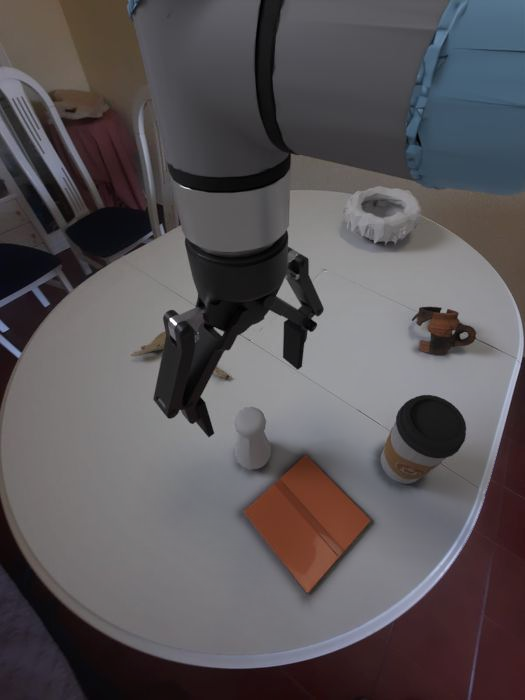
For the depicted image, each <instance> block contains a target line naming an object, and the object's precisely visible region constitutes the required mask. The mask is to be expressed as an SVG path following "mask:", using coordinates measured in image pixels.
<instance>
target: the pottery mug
mask: <svg viewBox="0 0 525 700" xmlns="http://www.w3.org/2000/svg"><path fill="white" fill-rule="evenodd" d="M442 310H443V308H442V307H439V306H421V307H419V308H418V312H417V313H416V314H415V315H413V317H412V319H411V321H412V322H414V321H415V320H416V325H417V326H419V327H421V326H422V325H423V323H426V322H427V321H429V323H428V324H427V326H426V328H427V331H428V332H429V333H430V340H423V339H420V340H419V341H418V350H419V351H421V352H424V353H429V354H434V355H446V354H448V353H449V351H450V350H451V348H452V349H454V348H457V347H466V346H469V345H471V344H473V343H474V342H475V340H477V337H476V335H477V331H476V330H475V328H474V327H473V326H471V325H467V324H463V323H462V322H461V321H460V319H459V318H458V317H459V315H460V313H459V312H458V311H456V310H454V309H451V308H447V309H446V312H441V311H442ZM463 333H466V334H467V337H465V338H461V334H463Z"/></svg>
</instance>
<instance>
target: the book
mask: <svg viewBox="0 0 525 700" xmlns="http://www.w3.org/2000/svg"><path fill="white" fill-rule="evenodd" d="M243 514H245V516H246V517H247V519H248V520H249V521H250V522H251V524H252V525H253V526H254V527H255V529H256V530H257V531H258V533H259V534H260V535H261V536H262V538H263V539H264V540H265V542H266V543H267V544H268V545H269V547H270V548H271V550H272V551H273V552H274V553H275V554H276V556H277V557H278V558H279V559H280V561H281V563H283V565H284V566H285V567H286V568H287V570H288V571H289V572H290V573H291V575H292V576H293V577H294V579H295V580H296V581H297V583H298V584H299V585H300V586H301V588H302V589H303V590H304V591H305V593H306V594H309V593H310V592H311V591H312V589H313V588H314V587H315V586H316V585H317V584H318V582H319V581H321V579H322V578H323V577H324V576H325V574H326V573H327V572H329V570H330V569H331V567H333V565H334V564H335V563H336V561H337V560H339V558H341V556H342V555H343V554H344V552H345V551H346V550H347V549H348V548H349V547H350V546H351V545H352V543H354V541H355V540H356V538H357V537H358V536H360V534H361V533H362V531H364V529H365V528H366V527H367V526H368V525H369V523H370V522H371V520H372V519H370V518H369V517H368V516H367V514H365V512H364V511H362V509H361V508H360V507H358V506H357V504H355V502H354V501H352V500H351V499H350V497H349V496H348V495H346V493H345V492H344V491H343V490H341V488H339V486H337V484H336V483H335V482H334V481H333V480H331V478H330V477H329V476H328V475H327V474H326V473H325V472H324V471H323V470H322V469H321V468H320V467H319V466H318V465H317V464H316V463H315V462H314V461H313V460H312V459H311V458H310V457H309V456H308V455H307V454H305V455H304V456H303V457H302V458H300V459H299V460H298V461H297V462H296V463H295V464H294V465H293V466H291V468H290V469H288V470H287V471H286V472H285V473H284V474H283V475H282V476H281V477H280V478H279V479H277V480H276V482H274V483H273V484H272V485H271V486H270V487H269V488H268V489H267V490H266V491H264V492H263V493H262V494H261V495H260V496H259V497H257V498H256V500H254V502H252V503H251V504H250V505H249V506H248V507H247V508H245V510H244V511H243Z"/></svg>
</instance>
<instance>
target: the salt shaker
mask: <svg viewBox="0 0 525 700" xmlns="http://www.w3.org/2000/svg"><path fill="white" fill-rule="evenodd" d="M266 426H267V419H266V417H265V414H264V412H263V411H262V410H260V408H258V407H256V406H255V407H254V406H246V407H243V408H242V409H240V410H238V412H237V413H236V415H235V419H234V427H235V430H236V432H237V435H236V436H237V437H236V441H235V445H234V452H233V453H234V458H235V460H236V462H237V463H238V464H239V465H240V466H241V467H242V468H244V469H247V470H250V471H251V470H259V469H260V468H262V467H264V466H266V464H267V463H268V461H269V459H270V458H271V453H272V447H271V444H270V441H269V439H268V438H267V435H266V433H265V432H266V431H265V430H266Z"/></svg>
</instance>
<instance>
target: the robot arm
mask: <svg viewBox="0 0 525 700" xmlns="http://www.w3.org/2000/svg"><path fill="white" fill-rule="evenodd" d="M127 2H128V4H127V5H126V6H127V7H126V9H127V14H128V16H129V19H130V22H132V23H133V25H134V26H133V27H134V30H135V33H136V34H135V35H136V38H137V42H138V46H139V51H140V55H141V59H142V63H143V68H144V71H145V77H146V80H147V84H148V85H147V86H148V89H149V93H150V97H151V103H152V105H153V110H154V114H155V119H156V123H157V125H158V126H157V127H158V131H159V136H160V139H161V144H162V149H163V153H164V156H165V161H166V164H167V169H168V173H169V174H168V176H169V180H170V184H171V188H172V192H173V197H174V201H175V205H176V206H175V207H176V208H177V209H176V211H177V215H178V219H179V222H180V228H181V231H182V233H183V236H184V237H185V238H184V246H185V251H186V256H187V259H188V262H189V263H188V264H189V268H190V272H191V277H192V280H193V284H194V287H195V289H196V292H197V299H196V303H195V307H194V308H191V309H189V310H186V311H184V312H182V313H179V312H177V311H176V310H175V309H169V310H167V311H166V312H165V313H164V314H163V316H162V322H163V326H164V332H166V339H165V344H164V349H162V354H161V359H160V363H159V369H158V373H157V379H156V384H155V388H154V393H153V399H152V400H153V401H154V403H155V404H156V406H157V407H158V408H159V409H160V410H161V412H162V413H163V414H164V416H165V417H166V418H167V419H169V420H171V419H174V418H175V417H177V416H178V414H179V413H180V412H181V414H182V416H183V417H184V418H185V419H186V421H188V423H189V424H191V425H194V424H195V423H196V424H197V425H198V427H199V428H200V429H201V430H202V431H203V432H204V434H205V435H206V436H207V437H208V438H211V437H213V436H214V434H215V431H214V427H213V424H212V421H211V417H210V414H209V411H208V406H207V403H206V401H205V400H204V399H203V398H202V397H201V396H202V395H203V392H204V391H205V389H206V387H207V385H208V383H209V381H210V379H211V377H212V376H213V372H214V370H215V368H217V366H218V364H219V362H220V360H221V358H222V356H223V355H224V353H225V351H231V349H232V347H233V345H234V343H235V341H236V340H237V338H238V336H240V335H241V334H244V333H245V332H247V330H248V329H250V327H252V326H253V325H256V324H258V323H261V322H262V321H264V320H265V316H267V314H268V313H269V311H271V312H272V313H274V314H276V315H278V316H280V317H283V318H285V320H284V321H283V339H282V340H283V341H282V358H283V359H284V360H285V361H286V362H287V363H288V364H290V365H291V366H292V367H293V368H295V369H296V370H300V369H301V368H302V367H303V360H304V353H305V352H304V350H305V343H306V341H307V340H308V332H309V333H312V332H314V331H315V330H316V329H317V327H318V323H317V321H314V319H313V318H314V317H320V316H321V315H322V314H323V313H324V309H325V308H324V305H323V304H322V301H321V299H320V296H319V294H318V292H317V290H316V288H315V286H314V283H313V281H312V279H311V277H310V275H309V274H310V272H309V271H310V269H309V268H310V265H309V263H310V261H309V258H308V257H307V256H305V255H303V254H302V253H300V252H298V251H296V250H295V249H294V248H291V246H289V232H288V228H289V227H290V206H291V205H290V203H291V202H290V200H291V165H292V155H295V156H304V157H307V158H312V159H317V160H320V161H325V162H330V163H334V164H338V165H343V166H347V167H352V168H356V169H360V170H365V171H369V172H373V173H377V174H381V175H385V176H390V177H394V178H399V179H404V180H408V181H412V182H415V183H416V184H419V185H420V186H421V187H423V188H426V189H433V190H437V191H440V190H441V191H442V190H445V189H450V190H458V191H463V192H464V191H465V192H471V193H481V194H487V195H496V196H502V197H503V196H504V197H507V196H514V195H519V194H520V195H521V194H523V193H525V0H128V1H127ZM285 280H286V281H287V283H288V285H289V287H290V289H291V290H292V292H293V294H294V295H295V297H296V299H297V300H298V302H299V305H300V306H299V308H296V307H295V306H294V305H292V304H290V303H289V302H287V301H286V300H283V299H282V298H280V297H279V296H277V295H278V293H279V291H280V289H281V287H282V286H283V283H284V281H285ZM216 329H217V330H219V331H221V332H223V333H222V335H221V334H220V332H218V331H217V330H216Z"/></svg>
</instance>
